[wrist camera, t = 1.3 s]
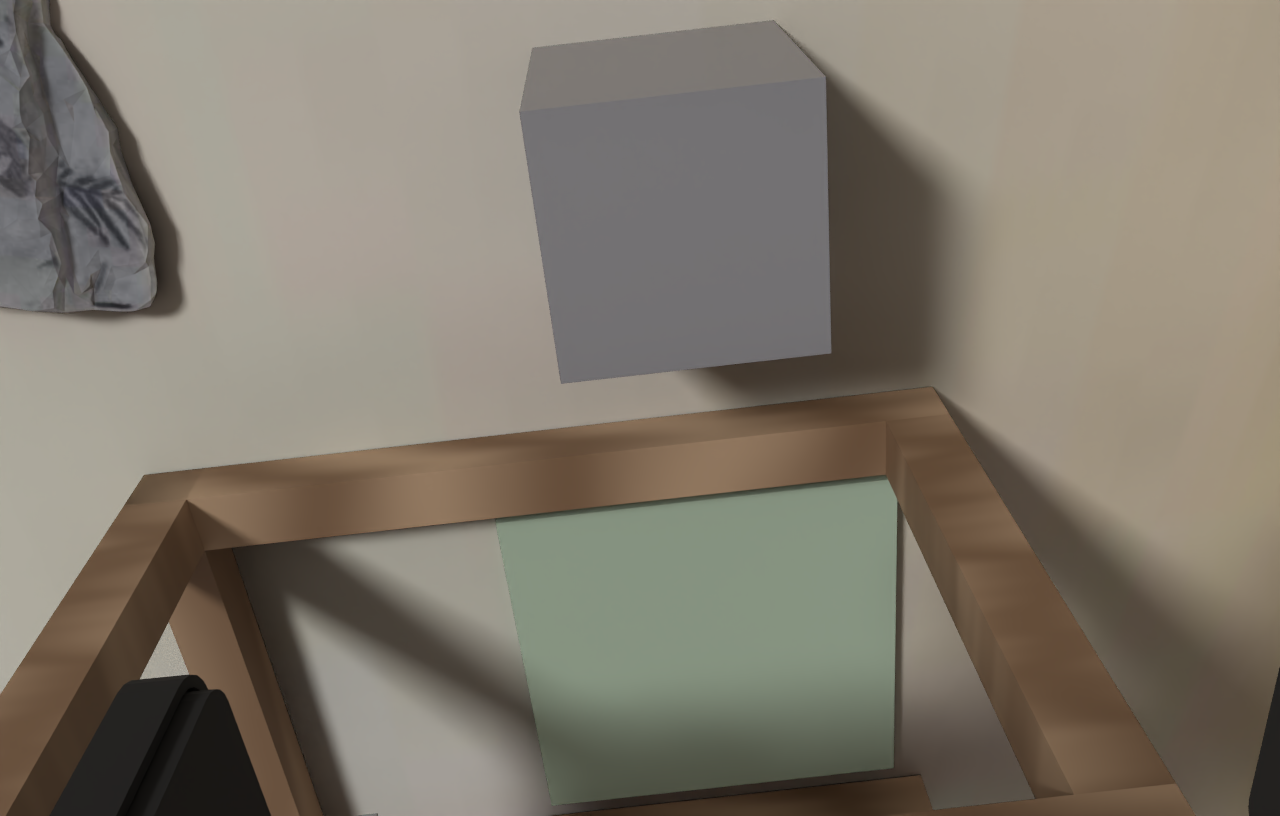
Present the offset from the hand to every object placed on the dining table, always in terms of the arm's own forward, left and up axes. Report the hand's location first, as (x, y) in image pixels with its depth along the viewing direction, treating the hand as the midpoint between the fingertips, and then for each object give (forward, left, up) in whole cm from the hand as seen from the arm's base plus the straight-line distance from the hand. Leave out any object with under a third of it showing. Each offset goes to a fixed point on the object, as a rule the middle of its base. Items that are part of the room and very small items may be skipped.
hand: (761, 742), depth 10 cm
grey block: (0, 0, -18) cm, 18 cm away
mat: (0, +15, -18) cm, 23 cm away
